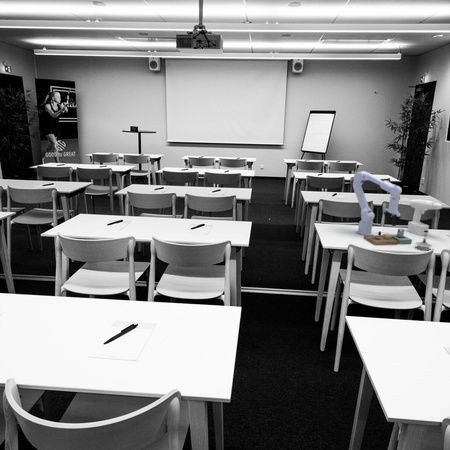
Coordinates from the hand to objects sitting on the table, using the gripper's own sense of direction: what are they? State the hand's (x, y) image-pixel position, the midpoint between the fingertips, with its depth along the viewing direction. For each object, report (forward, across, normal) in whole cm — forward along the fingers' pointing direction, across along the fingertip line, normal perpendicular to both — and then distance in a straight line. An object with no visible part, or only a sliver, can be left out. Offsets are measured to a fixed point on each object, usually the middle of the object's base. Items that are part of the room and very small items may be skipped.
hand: (390, 224), depth 269 cm
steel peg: (+10, -5, -5) cm, 13 cm away
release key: (+10, -5, +5) cm, 12 cm away
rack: (+10, -5, -6) cm, 13 cm away
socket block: (+10, -5, +9) cm, 15 cm away
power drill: (+11, +10, -32) cm, 35 cm away
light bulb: (+11, -20, -12) cm, 26 cm away
